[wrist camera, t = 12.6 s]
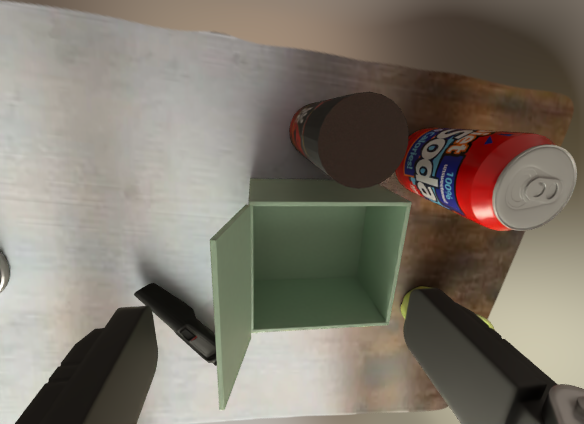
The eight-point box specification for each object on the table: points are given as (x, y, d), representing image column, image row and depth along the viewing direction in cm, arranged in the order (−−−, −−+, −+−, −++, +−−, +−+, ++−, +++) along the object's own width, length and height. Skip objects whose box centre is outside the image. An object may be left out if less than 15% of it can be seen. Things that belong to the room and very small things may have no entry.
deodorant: (298, 95, 30) (336, 77, 16) (348, 113, 31) (423, 110, 17) (282, 149, 32) (305, 174, 18) (330, 163, 33) (387, 198, 19)
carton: (250, 281, 37) (249, 333, 28) (250, 178, 32) (248, 201, 24) (358, 277, 39) (388, 325, 30) (371, 180, 34) (411, 202, 26)
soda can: (440, 193, 36) (559, 242, 22) (384, 188, 35) (472, 236, 21) (459, 131, 34) (605, 142, 20) (400, 122, 33) (510, 127, 18)
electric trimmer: (157, 269, 35) (148, 283, 32) (237, 343, 40) (235, 362, 37) (135, 286, 35) (123, 301, 32) (216, 357, 40) (213, 377, 37)
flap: (251, 338, 27) (247, 337, 27) (250, 204, 23) (245, 204, 23) (224, 410, 21) (219, 409, 21) (216, 240, 16) (209, 239, 16)
